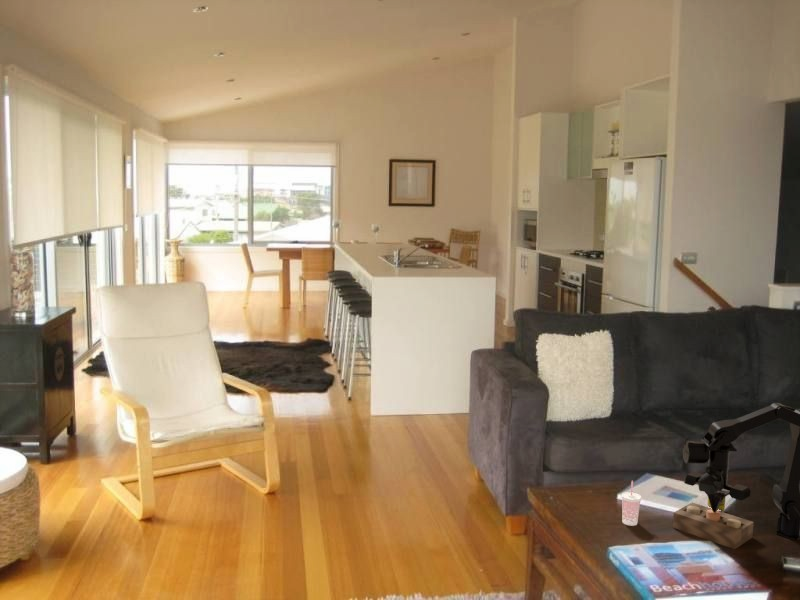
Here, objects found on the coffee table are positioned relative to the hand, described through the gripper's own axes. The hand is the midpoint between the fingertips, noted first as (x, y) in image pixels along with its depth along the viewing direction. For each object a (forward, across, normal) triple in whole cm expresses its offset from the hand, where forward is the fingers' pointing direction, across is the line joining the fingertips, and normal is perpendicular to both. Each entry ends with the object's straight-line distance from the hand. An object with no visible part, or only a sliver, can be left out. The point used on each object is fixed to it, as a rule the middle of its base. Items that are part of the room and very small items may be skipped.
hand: (714, 511), depth 250 cm
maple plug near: (+6, +6, 0) cm, 9 cm away
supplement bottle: (+7, -7, +17) cm, 19 cm away
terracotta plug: (+5, 0, 0) cm, 5 cm away
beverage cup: (+7, -21, -13) cm, 26 cm away
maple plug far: (+6, -7, 0) cm, 9 cm away
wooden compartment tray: (+7, 0, 0) cm, 7 cm away
